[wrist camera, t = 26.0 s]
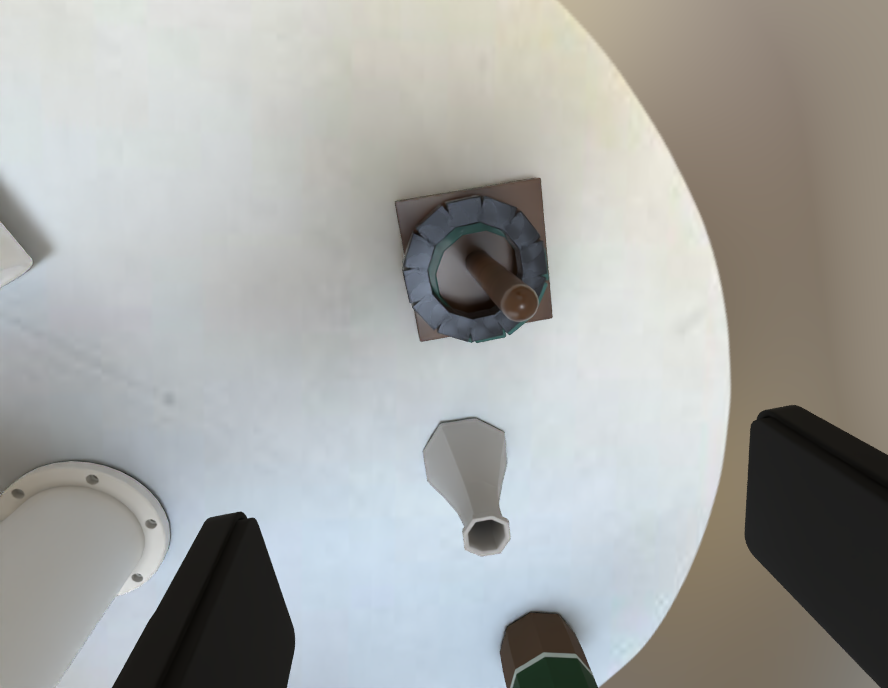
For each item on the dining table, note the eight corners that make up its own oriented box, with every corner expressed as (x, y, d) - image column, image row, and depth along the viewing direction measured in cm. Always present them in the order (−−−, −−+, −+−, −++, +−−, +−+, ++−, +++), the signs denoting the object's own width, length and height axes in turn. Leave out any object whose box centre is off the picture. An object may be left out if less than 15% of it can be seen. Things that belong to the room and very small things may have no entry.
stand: (419, 336, 37) (434, 423, 24) (394, 201, 34) (396, 214, 21) (546, 313, 38) (632, 386, 24) (534, 177, 35) (625, 175, 21)
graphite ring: (419, 345, 34) (421, 353, 33) (389, 212, 31) (389, 214, 30) (547, 318, 35) (554, 324, 33) (529, 183, 32) (536, 183, 30)
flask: (431, 410, 40) (443, 482, 30) (516, 422, 41) (554, 495, 31) (414, 487, 42) (421, 576, 32) (496, 496, 43) (526, 586, 33)
